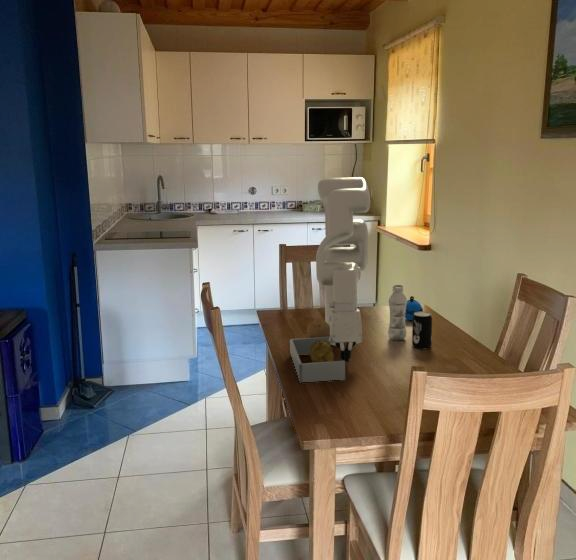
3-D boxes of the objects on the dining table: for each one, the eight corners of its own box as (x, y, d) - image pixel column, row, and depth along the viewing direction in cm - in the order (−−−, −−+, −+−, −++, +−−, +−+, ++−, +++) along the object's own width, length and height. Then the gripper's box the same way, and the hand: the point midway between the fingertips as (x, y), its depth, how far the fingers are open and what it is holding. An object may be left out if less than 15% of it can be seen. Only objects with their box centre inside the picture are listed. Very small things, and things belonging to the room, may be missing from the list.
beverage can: (431, 350, 192) (432, 316, 189) (412, 349, 193) (412, 316, 191) (431, 343, 198) (431, 311, 196) (412, 343, 200) (412, 310, 197)
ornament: (410, 324, 221) (411, 300, 219) (396, 319, 228) (396, 295, 226) (427, 320, 225) (427, 296, 223) (412, 316, 232) (413, 292, 230)
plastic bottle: (384, 338, 205) (384, 285, 201) (399, 335, 208) (400, 283, 204) (394, 343, 200) (394, 289, 195) (410, 340, 202) (411, 286, 198)
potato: (307, 374, 174) (306, 350, 172) (311, 360, 186) (310, 337, 185) (333, 375, 173) (333, 351, 171) (336, 360, 185) (336, 337, 183)
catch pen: (290, 355, 191) (289, 339, 189) (330, 353, 192) (329, 336, 191) (299, 383, 167) (299, 364, 166) (345, 380, 169) (345, 361, 168)
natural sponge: (302, 343, 202) (302, 317, 200) (325, 340, 205) (325, 314, 203) (312, 351, 194) (311, 324, 192) (335, 348, 197) (335, 320, 195)
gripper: (323, 310, 172) (324, 366, 176) (371, 307, 174) (371, 363, 178) (319, 304, 179) (320, 358, 183) (365, 301, 181) (365, 355, 185)
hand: (345, 360), depth 181 cm, fingers closed
